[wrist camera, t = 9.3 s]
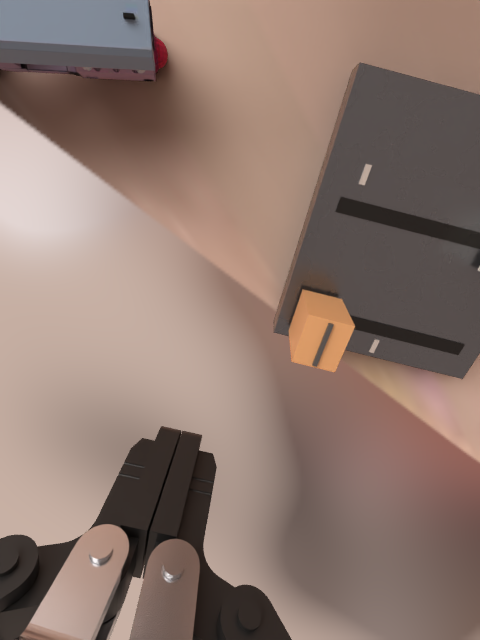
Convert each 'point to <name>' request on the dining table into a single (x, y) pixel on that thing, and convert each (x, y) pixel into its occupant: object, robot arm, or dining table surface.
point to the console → (398, 223)
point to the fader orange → (319, 331)
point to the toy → (81, 38)
